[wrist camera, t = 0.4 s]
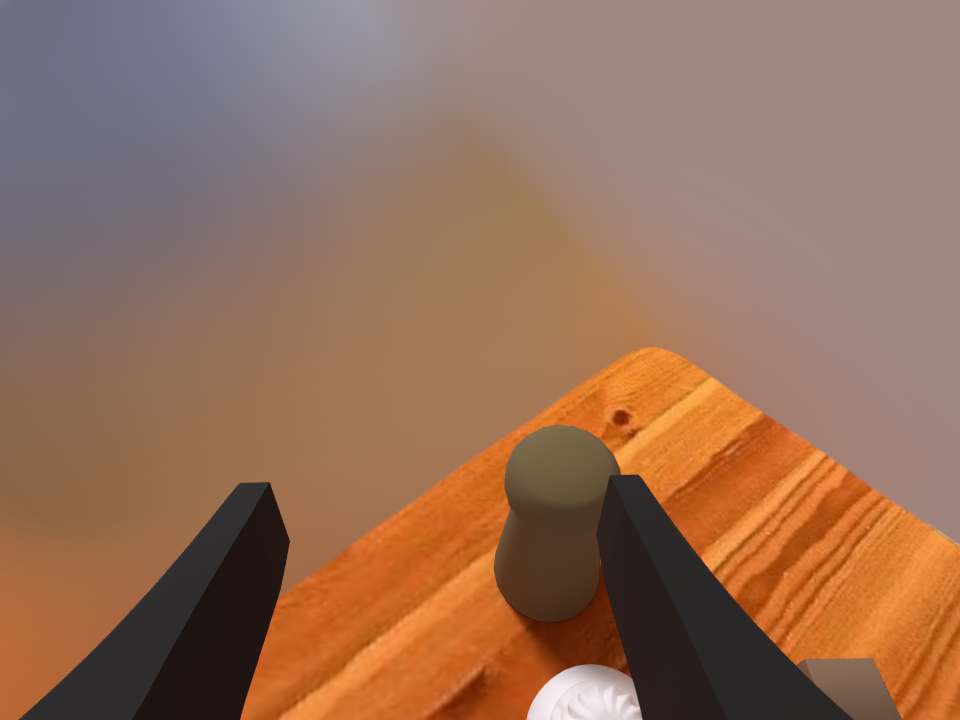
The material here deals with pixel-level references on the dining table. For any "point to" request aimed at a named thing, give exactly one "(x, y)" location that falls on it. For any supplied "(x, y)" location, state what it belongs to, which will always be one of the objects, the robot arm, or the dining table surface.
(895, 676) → the dining table surface
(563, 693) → the muffin
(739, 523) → the dining table surface
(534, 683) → the dining table surface
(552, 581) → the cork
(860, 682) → the block
